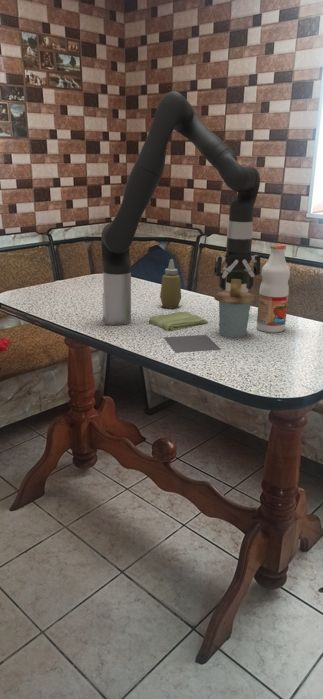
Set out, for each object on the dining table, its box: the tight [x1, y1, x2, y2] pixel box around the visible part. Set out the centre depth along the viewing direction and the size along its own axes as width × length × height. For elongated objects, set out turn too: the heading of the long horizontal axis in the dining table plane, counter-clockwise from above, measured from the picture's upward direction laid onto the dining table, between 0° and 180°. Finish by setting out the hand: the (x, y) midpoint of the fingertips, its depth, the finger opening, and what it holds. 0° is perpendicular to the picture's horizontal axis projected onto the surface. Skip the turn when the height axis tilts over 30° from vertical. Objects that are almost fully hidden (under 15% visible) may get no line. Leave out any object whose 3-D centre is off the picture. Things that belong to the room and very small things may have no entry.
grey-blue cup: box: [218, 301, 252, 339], centre depth 167 cm, size 10×10×12 cm
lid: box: [213, 279, 257, 304], centre depth 164 cm, size 13×13×6 cm
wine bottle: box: [225, 269, 249, 293], centre depth 185 cm, size 8×8×30 cm
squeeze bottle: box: [159, 258, 182, 309], centre depth 197 cm, size 8×8×18 cm
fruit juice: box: [256, 243, 291, 334], centre depth 171 cm, size 9×9×28 cm
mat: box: [163, 334, 222, 354], centre depth 159 cm, size 14×14×1 cm
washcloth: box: [148, 310, 209, 332], centre depth 179 cm, size 13×18×3 cm
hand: (235, 289), depth 164 cm, fingers open, 8 cm apart
